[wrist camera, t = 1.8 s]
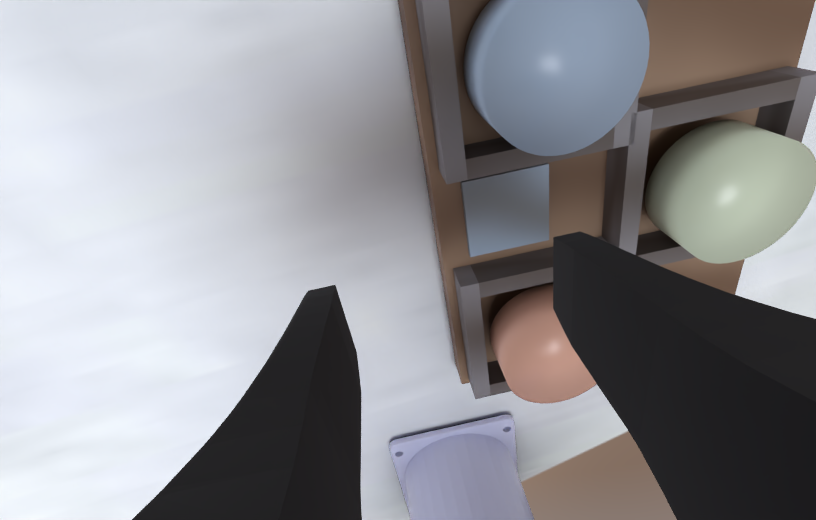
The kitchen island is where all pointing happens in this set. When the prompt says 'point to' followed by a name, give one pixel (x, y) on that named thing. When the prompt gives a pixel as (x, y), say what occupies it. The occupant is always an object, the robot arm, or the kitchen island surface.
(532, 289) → the button terracotta
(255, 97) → the kitchen island surface
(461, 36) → the panel
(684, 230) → the button sage
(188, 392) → the kitchen island surface
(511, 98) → the button slate
